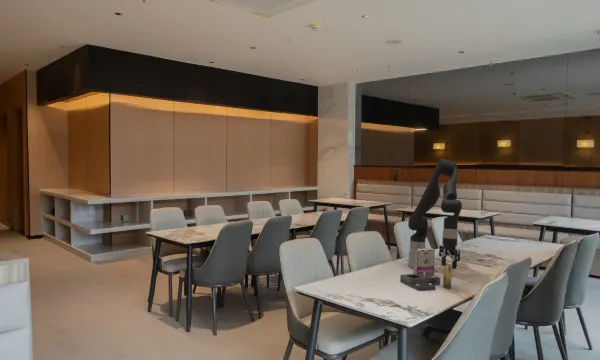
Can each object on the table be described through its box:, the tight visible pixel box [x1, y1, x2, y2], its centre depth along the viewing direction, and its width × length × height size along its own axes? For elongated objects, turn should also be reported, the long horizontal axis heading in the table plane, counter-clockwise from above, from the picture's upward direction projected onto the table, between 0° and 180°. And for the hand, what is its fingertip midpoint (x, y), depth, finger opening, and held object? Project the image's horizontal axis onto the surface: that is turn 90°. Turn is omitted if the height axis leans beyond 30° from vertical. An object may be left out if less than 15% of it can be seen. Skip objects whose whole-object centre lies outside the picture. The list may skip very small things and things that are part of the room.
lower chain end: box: [399, 277, 436, 292], centre depth 240 cm, size 18×10×3 cm, turn 20°
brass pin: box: [442, 264, 453, 290], centre depth 238 cm, size 4×4×12 cm
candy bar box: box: [412, 247, 436, 275], centre depth 260 cm, size 11×5×16 cm, turn 105°
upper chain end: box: [399, 272, 441, 286], centre depth 246 cm, size 10×19×5 cm, turn 110°
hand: (448, 266), depth 238 cm, fingers open, 8 cm apart
